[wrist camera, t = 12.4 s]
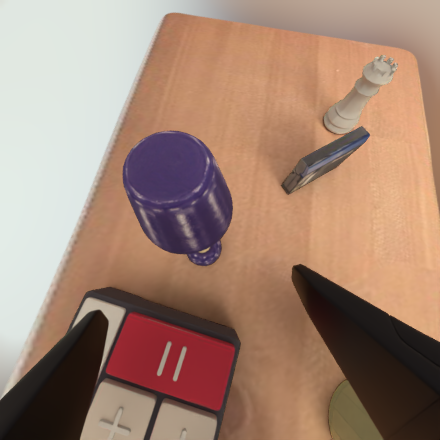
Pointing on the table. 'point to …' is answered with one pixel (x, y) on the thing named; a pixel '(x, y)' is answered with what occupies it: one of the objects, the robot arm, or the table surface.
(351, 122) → the rook chess piece
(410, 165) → the table surface
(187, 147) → the toy lamp
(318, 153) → the mini dv tape
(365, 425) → the pencil cup
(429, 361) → the robot arm
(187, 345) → the calculator
